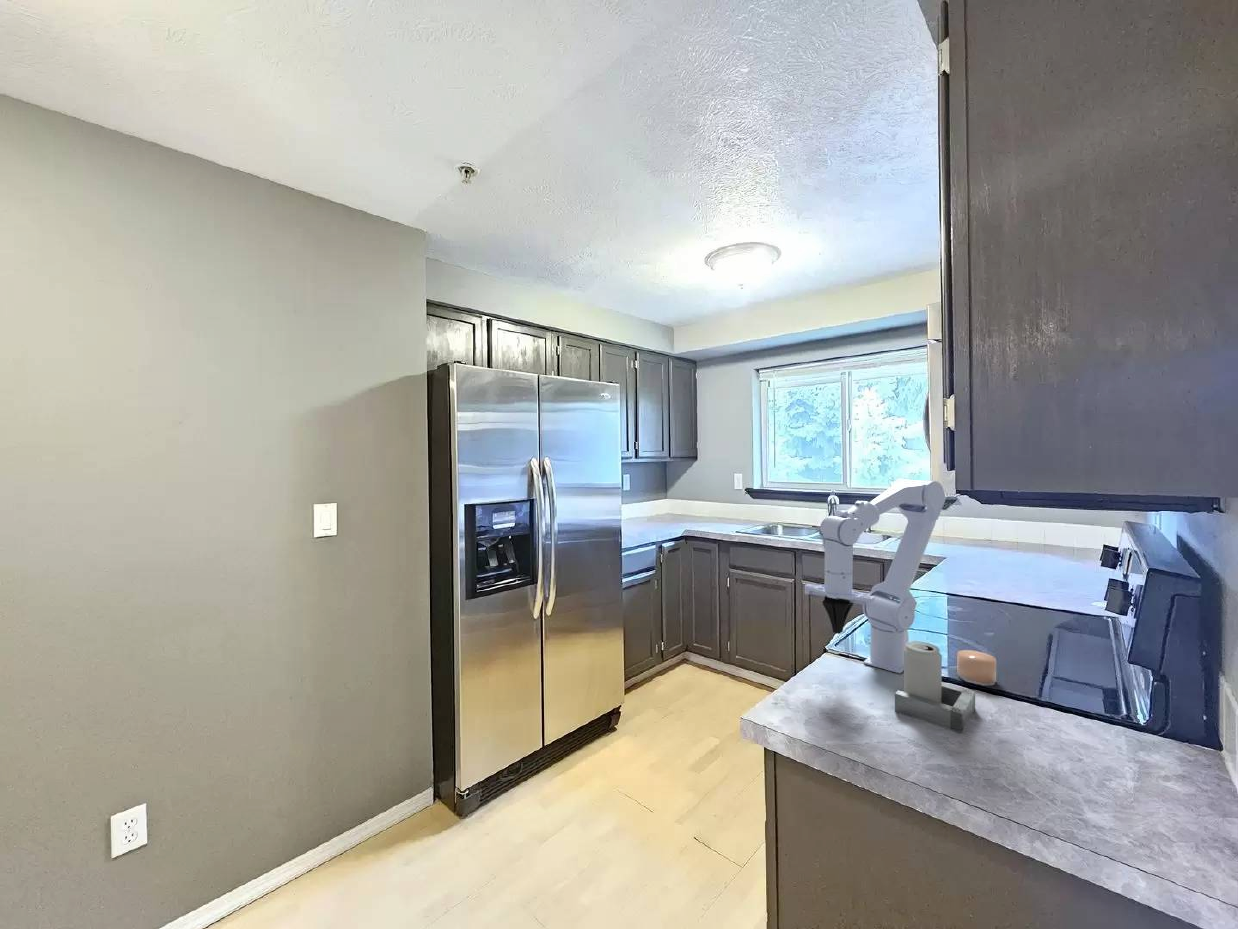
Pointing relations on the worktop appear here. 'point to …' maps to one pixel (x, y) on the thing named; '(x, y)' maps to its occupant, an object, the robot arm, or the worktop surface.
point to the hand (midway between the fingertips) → (837, 632)
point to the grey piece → (939, 707)
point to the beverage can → (923, 670)
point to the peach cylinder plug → (976, 666)
